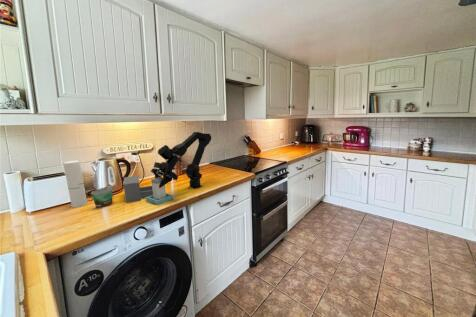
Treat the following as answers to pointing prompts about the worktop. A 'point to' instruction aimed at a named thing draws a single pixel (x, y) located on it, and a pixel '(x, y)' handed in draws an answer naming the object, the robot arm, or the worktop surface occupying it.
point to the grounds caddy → (157, 191)
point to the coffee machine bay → (135, 189)
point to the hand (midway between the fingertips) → (156, 186)
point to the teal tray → (159, 201)
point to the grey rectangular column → (75, 183)
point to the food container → (103, 196)
